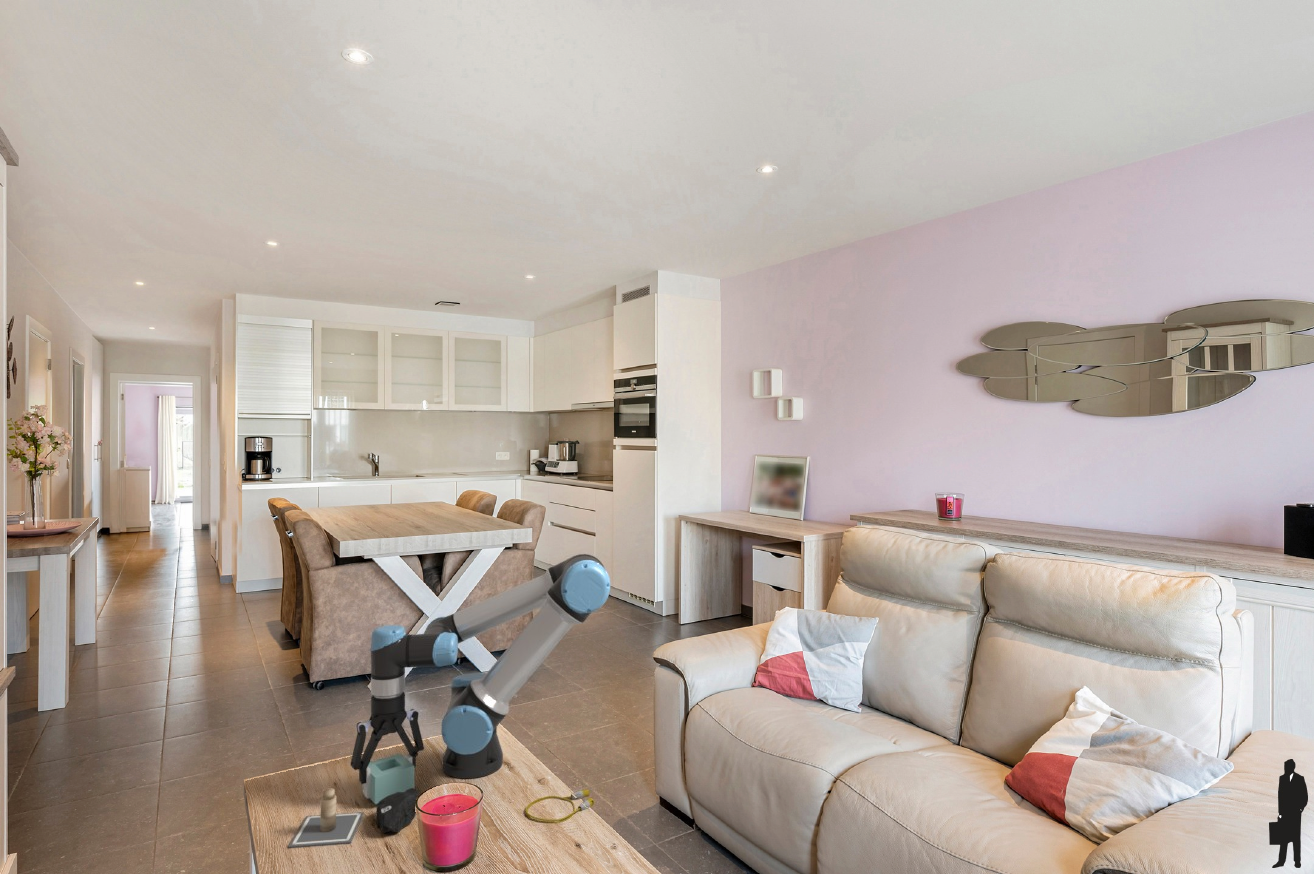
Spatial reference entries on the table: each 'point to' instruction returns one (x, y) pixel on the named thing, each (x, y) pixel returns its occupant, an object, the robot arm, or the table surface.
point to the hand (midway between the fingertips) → (388, 788)
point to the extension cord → (578, 794)
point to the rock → (396, 810)
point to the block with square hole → (390, 776)
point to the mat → (314, 837)
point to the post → (328, 811)
